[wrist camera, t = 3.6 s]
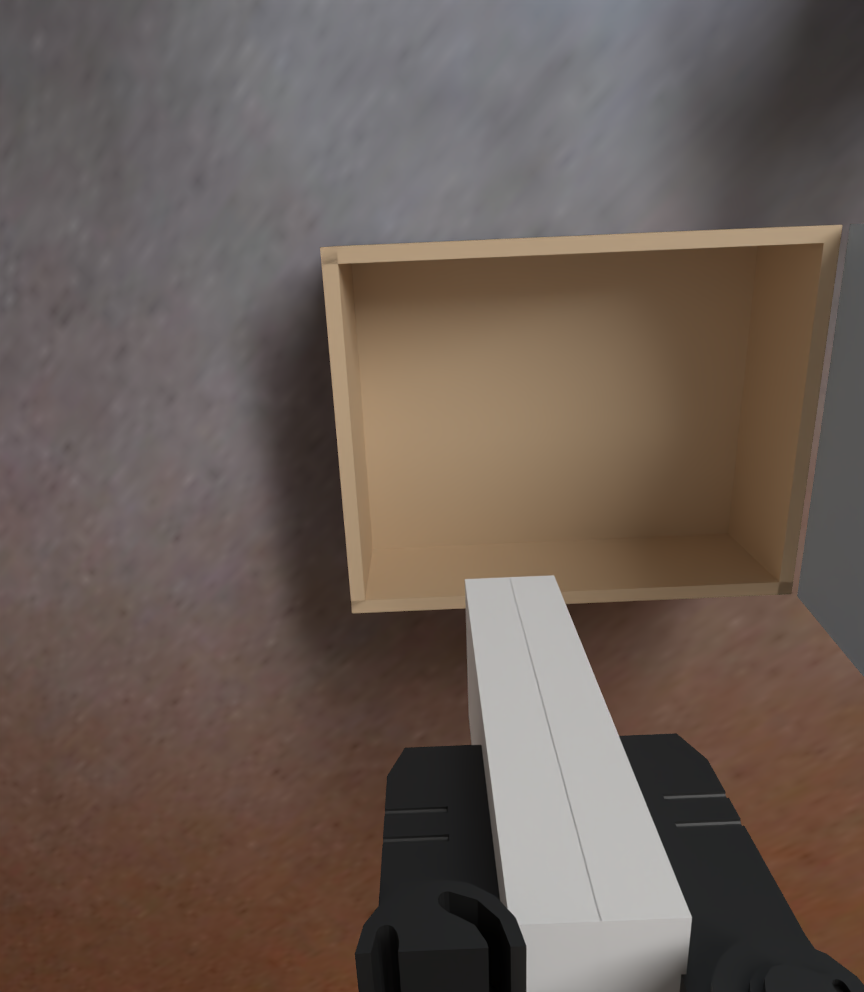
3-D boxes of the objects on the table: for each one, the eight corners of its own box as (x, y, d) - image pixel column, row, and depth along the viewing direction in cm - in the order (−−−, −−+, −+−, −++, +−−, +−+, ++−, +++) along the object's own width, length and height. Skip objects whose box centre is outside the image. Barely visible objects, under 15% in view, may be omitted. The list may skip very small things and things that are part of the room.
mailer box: (362, 556, 31) (351, 613, 26) (337, 246, 27) (320, 247, 22) (735, 540, 31) (791, 594, 26) (768, 227, 27) (842, 224, 22)
